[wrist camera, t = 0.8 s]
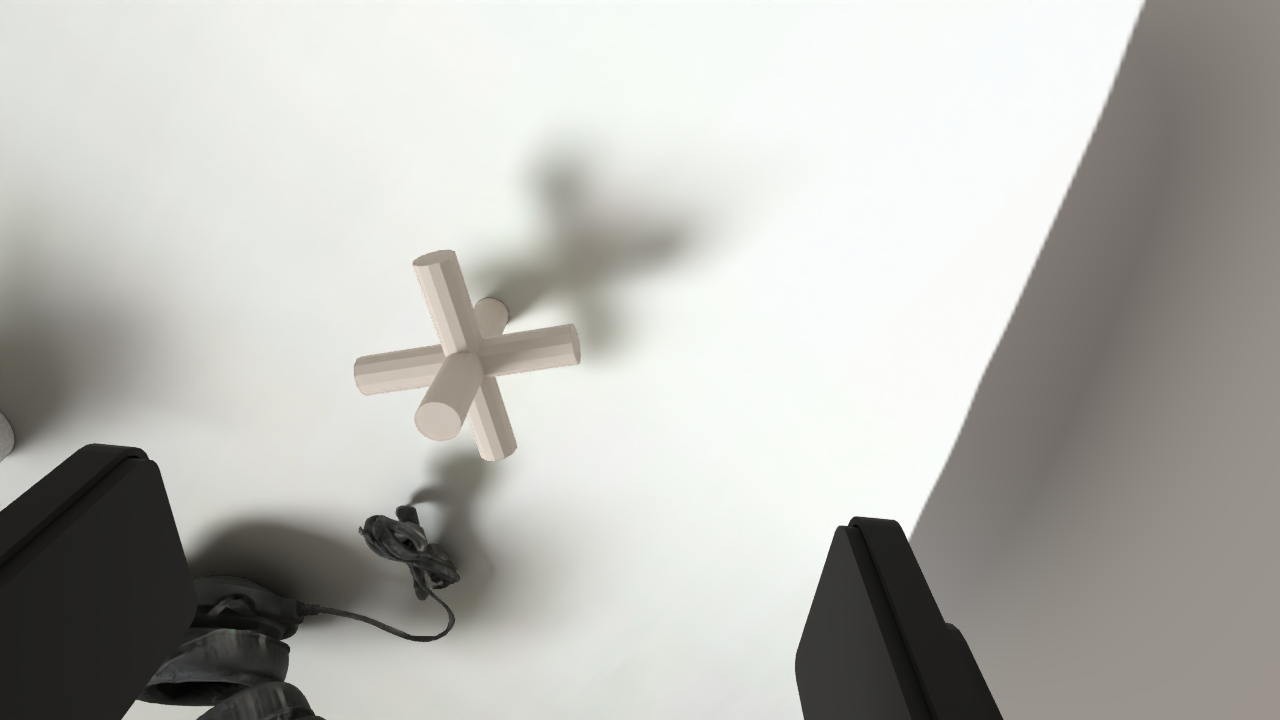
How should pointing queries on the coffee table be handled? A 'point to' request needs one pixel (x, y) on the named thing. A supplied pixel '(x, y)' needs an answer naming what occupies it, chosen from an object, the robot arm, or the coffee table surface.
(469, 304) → the pipe connector
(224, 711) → the headset
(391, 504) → the coffee table surface
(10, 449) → the house plant
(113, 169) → the coffee table surface
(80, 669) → the robot arm
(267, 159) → the coffee table surface
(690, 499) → the coffee table surface
